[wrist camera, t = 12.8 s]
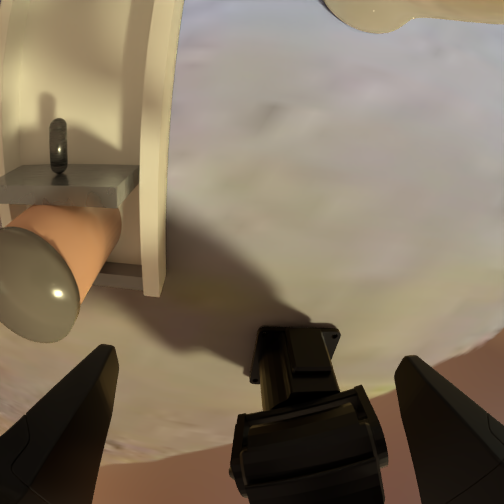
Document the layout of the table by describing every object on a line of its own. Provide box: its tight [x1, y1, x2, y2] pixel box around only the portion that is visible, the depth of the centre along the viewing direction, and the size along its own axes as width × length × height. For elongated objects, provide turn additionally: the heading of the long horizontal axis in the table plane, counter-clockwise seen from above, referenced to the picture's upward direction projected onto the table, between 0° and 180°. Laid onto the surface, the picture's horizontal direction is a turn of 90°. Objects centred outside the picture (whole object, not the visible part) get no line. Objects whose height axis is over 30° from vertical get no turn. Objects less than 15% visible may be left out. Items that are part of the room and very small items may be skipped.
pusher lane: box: [0, 0, 184, 297], centre depth 13 cm, size 20×11×6 cm, turn 173°
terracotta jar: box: [0, 205, 122, 343], centre depth 15 cm, size 6×6×8 cm
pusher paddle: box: [0, 118, 140, 208], centre depth 14 cm, size 4×8×4 cm, turn 83°
